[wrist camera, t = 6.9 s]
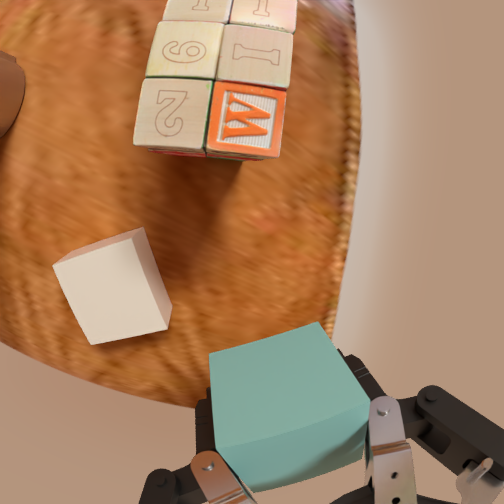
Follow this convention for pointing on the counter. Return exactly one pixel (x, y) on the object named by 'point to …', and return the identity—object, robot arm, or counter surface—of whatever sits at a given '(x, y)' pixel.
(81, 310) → the white square block
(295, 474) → the teal cube
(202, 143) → the stack of blocks
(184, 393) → the counter surface
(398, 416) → the robot arm
